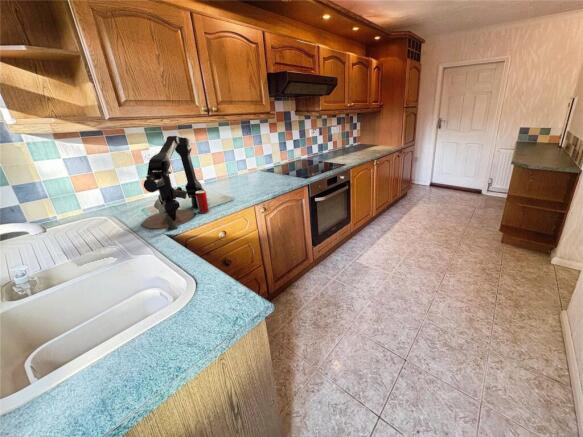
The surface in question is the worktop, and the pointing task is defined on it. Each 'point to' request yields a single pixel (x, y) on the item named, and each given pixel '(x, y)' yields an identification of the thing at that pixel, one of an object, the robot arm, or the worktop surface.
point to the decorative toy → (160, 208)
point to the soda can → (202, 201)
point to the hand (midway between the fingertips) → (172, 217)
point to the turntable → (168, 220)
